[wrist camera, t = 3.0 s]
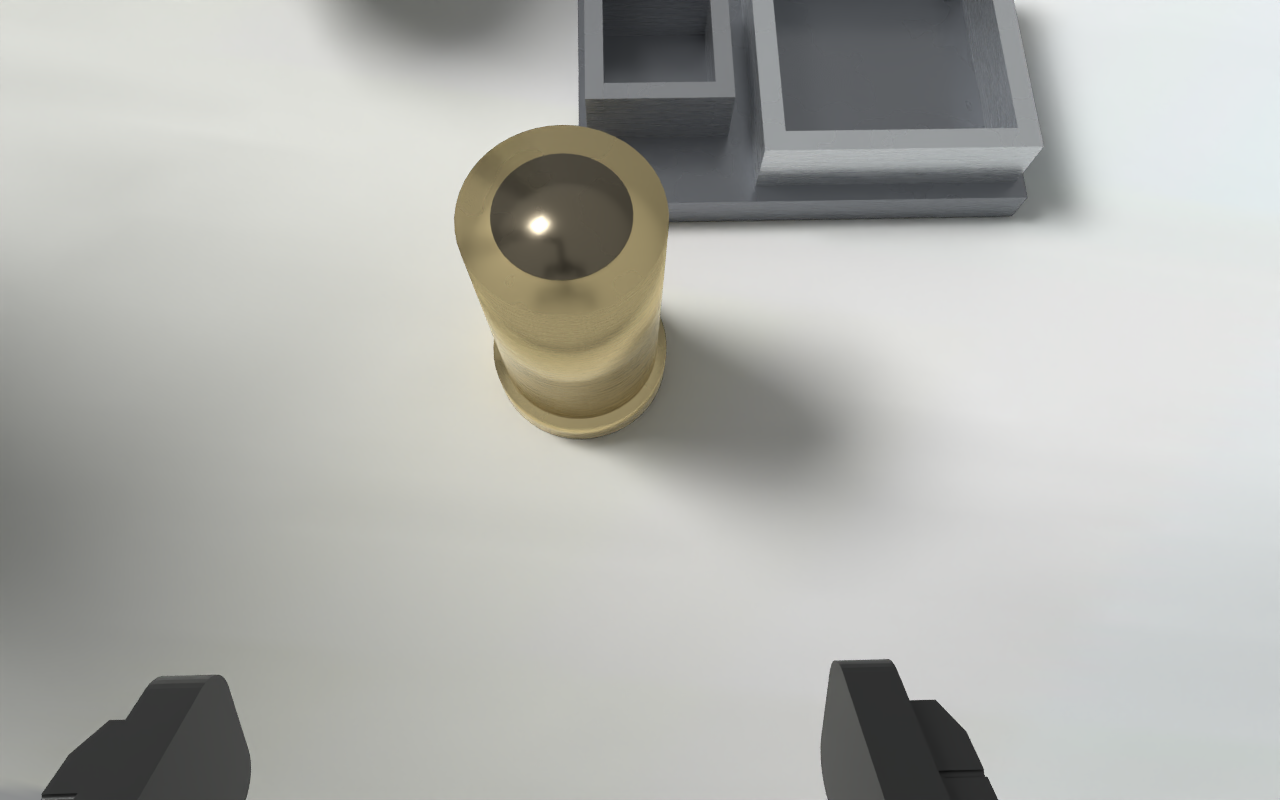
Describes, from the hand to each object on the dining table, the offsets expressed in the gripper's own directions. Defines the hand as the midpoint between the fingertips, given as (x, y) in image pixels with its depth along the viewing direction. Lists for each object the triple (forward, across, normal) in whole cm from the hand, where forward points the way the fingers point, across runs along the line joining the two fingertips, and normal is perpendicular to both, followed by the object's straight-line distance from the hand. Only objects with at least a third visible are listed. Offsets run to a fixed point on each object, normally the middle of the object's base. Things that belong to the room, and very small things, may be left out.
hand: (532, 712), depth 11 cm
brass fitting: (+17, 0, +2) cm, 17 cm away
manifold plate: (+24, -8, -5) cm, 25 cm away
